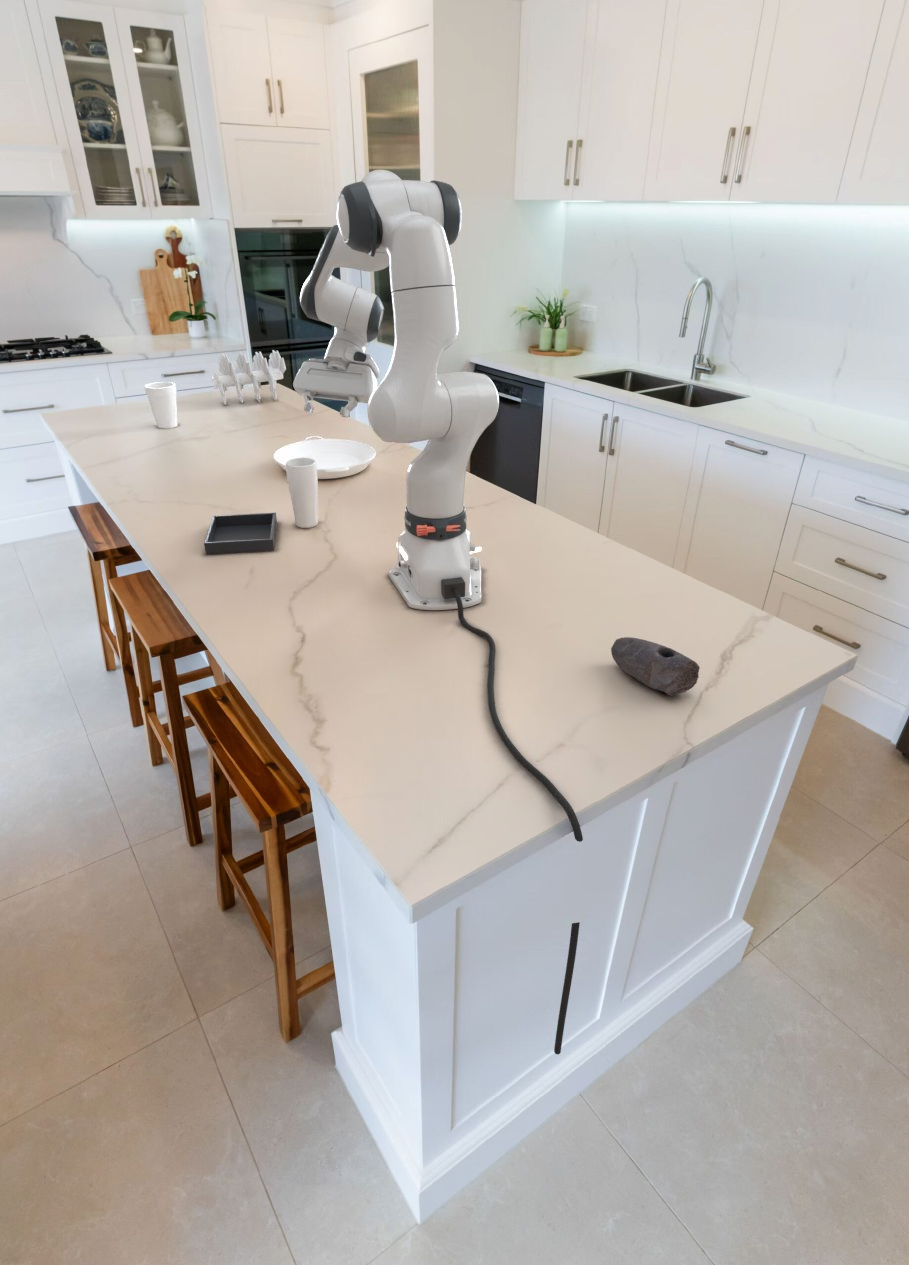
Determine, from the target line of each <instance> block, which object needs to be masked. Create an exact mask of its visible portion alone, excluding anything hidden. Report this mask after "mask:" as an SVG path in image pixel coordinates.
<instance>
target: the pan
mask: <svg viewBox="0 0 909 1265" xmlns="http://www.w3.org/2000/svg"><path fill="white" fill-rule="evenodd" d="M376 456H377V452H376V449H375V448H374V447H372V445H369V444H368V443H365V442H361V441H358V440H353V439H343V438H323V437H322V436H318V435H312V436H311V435H310V436H307V437H305V438H304V439H303V440H301V441H297V442H293V443H289V444H286V445H284V446H281V447H280V448H278V449H276V451H275V452H274V453H273V455H272V457H273V460H274V462H275V463H276V464H277V465H279V466H280V467H281V468H282V469H283V470H284V471H285V472H286V462H287V461H288V460H290V459H293V458H301V457H305V458H312V459H314V460H315V461H316V466H317V476H318V480H333V479H341V478H347V477H350V476H353V475H356V474H358V473H361V472H363V471H364V470H366V468H367V467H368V466H369V465H370V464H371V462H372V461H373V460H374V459H375V457H376Z"/></svg>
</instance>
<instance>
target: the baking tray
mask: <svg viewBox="0 0 909 1265" xmlns="http://www.w3.org/2000/svg"><path fill="white" fill-rule="evenodd" d="M277 530H278V518H277V512H260V513H258V512H257V513H239V514H224V515H223V514H221V515H212V517H211V520H210V524H209V526H208V530H207V533H206V536H205V539H204V543H203V544H204V549H205V555H206V556H212V555H226V554H228V555H229V554H244V553H247V554H248V553H262V552H275V547H276V538H277Z"/></svg>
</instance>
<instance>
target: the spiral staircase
mask: <svg viewBox="0 0 909 1265" xmlns="http://www.w3.org/2000/svg"><path fill="white" fill-rule="evenodd" d="M271 351H272V352H270V354H269V356H268V357H269V359H268V360H267V357H264V356H263V353H262V351H255V352H254V353H255V354H254V355H253V357H252V362H251V361H248V359H247V355H246V353H242V351H239V352H238V354H237V355H236V356H235V357H236V358H235V367H234V363H233V361H230V359H229V357H228V354H227V353H226V354H224V353H221V356H220V357H219V359H218V361H219V362H218V371H219V372H218V373H217V371H216V370H215V369H213V376H211V383H212V387H213V389H214V390H216V389H219V393H220V396H221V400H222V403H223V404H224V406H227V398H226V391H228V388H230V387H235V389H236V393H237V398H238V399H239V402H240V403H241V404H244V397H243V389H244V388H245V387H244V386H245V385H251V384H252V388H253V393H254V396H255V399H256V401H257V402H258V404H259V403H261V395H260V389H262V386H261V385H262V384H261V383H265V382H268V389H269V391H270V395H271V397H272V398H273V400H274V402H276V401H277V398H278V396H277V388H276V387H278V382H277V381H279V380H283V379H284V373H285V372H286V371H287V367H286V362H285V358H284V357H281V354H280V352H279V350H275V349H272V350H271ZM251 363H252V364H251Z"/></svg>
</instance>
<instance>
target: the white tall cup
mask: <svg viewBox="0 0 909 1265" xmlns="http://www.w3.org/2000/svg"><path fill="white" fill-rule="evenodd" d="M285 473H286V480H287V486H288V491H289V496H290V501H291V506H292V511H293V515H294V517H293V518H294V524H295V526H297V528H301V529H311V528H314V527H316V526H318V524H319V495H318V494H319V479H318V476H317V466H316V461H315V460H314V459H312V458H305V457H301V458H293V459H290V460H288V461H287V462H286V471H285Z"/></svg>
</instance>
